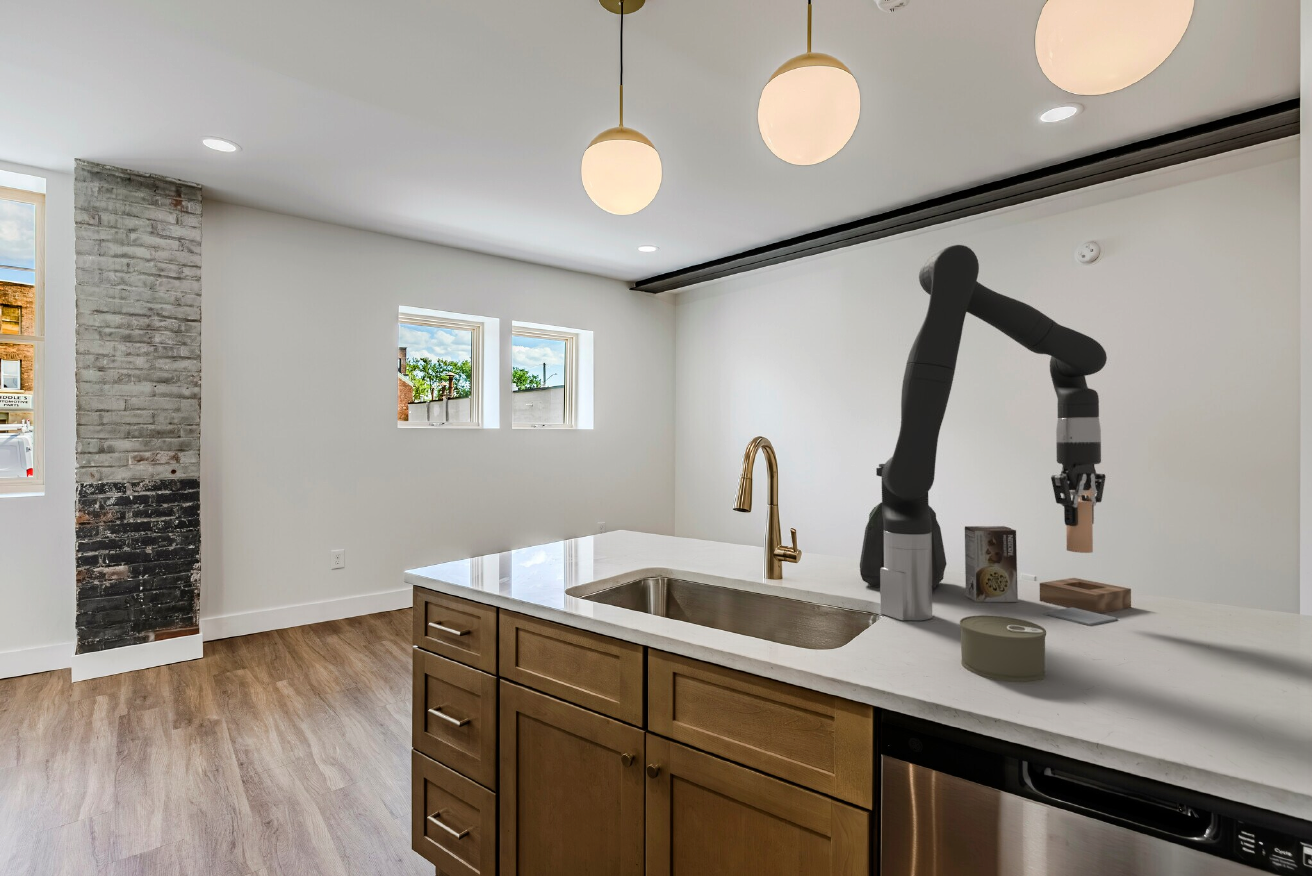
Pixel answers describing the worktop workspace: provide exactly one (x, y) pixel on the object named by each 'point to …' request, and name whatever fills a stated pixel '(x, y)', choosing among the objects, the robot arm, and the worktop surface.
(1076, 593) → the bore block
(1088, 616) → the rubber mat
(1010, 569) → the coffee box
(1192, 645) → the worktop surface
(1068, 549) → the peach orange cylinder
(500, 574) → the worktop surface
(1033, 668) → the can
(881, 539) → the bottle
